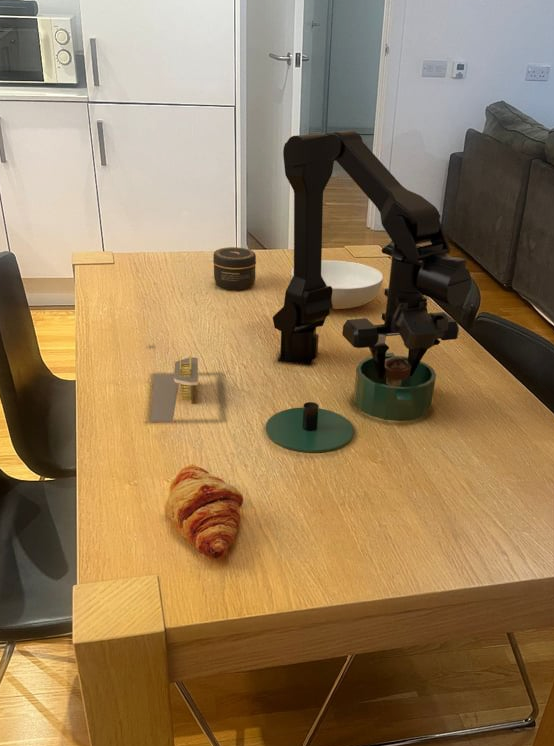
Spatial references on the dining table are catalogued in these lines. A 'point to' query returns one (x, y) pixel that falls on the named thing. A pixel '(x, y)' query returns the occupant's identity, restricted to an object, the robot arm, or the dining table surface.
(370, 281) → the serving bowl
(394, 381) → the mushroom
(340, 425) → the lid
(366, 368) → the pot
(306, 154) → the robot arm
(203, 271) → the dining table surface
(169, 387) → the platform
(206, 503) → the croissant
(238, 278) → the jar
